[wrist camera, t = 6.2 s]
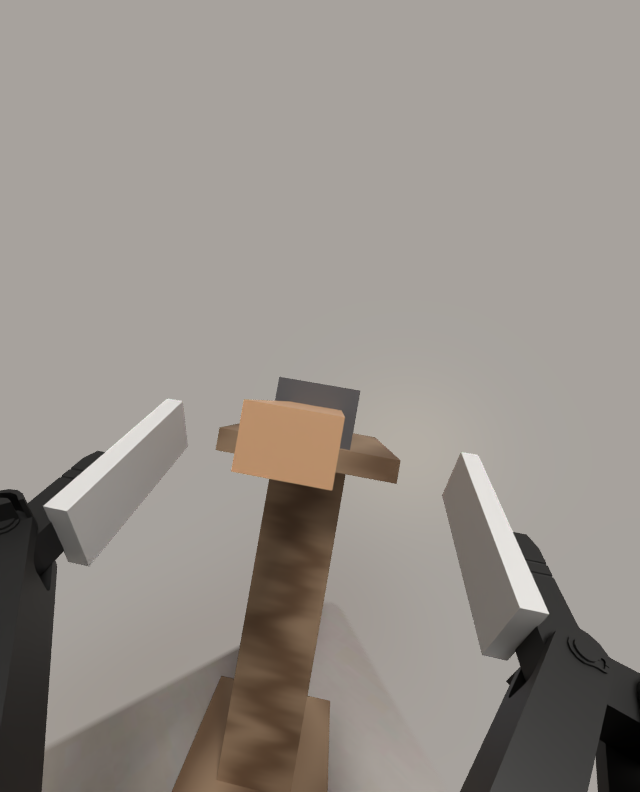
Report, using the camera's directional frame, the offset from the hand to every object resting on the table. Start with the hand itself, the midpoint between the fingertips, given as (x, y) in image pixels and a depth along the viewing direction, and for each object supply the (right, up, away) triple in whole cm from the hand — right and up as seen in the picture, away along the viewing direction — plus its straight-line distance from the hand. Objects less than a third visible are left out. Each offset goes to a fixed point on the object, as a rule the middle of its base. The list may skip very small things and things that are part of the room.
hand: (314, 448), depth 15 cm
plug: (0, -1, +6) cm, 6 cm away
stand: (-5, -30, +12) cm, 33 cm away
